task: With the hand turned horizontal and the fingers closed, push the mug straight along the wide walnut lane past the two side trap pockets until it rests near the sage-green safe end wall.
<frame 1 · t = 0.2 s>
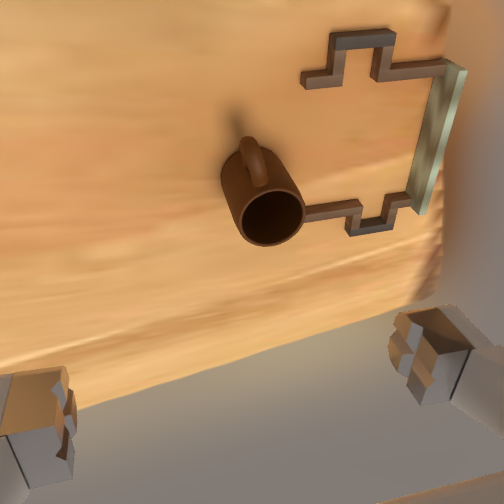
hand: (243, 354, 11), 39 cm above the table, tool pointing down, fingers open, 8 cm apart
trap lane: (359, 144, 54), on the table
mug: (245, 157, 52), on the table
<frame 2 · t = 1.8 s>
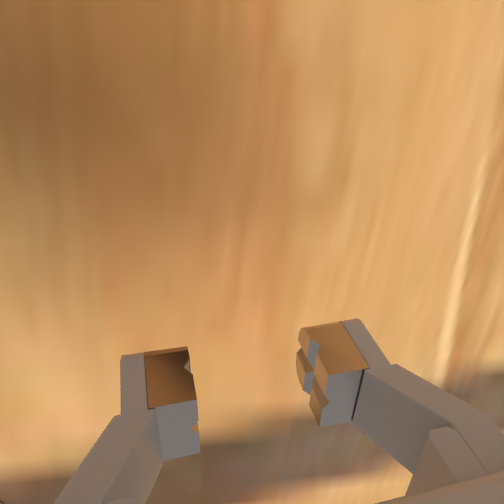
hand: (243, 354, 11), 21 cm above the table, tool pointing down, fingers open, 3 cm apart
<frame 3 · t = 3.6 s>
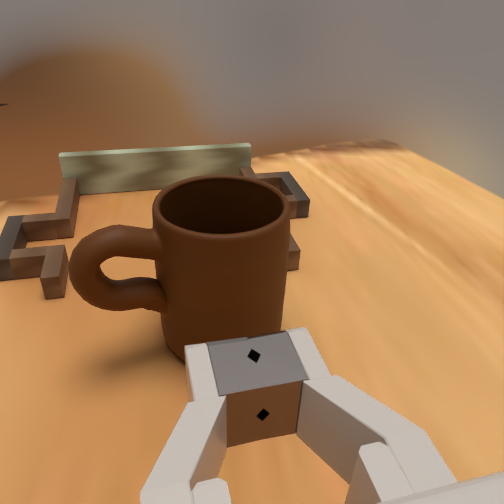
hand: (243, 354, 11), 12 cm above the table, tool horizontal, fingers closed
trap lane: (169, 228, 40), on the table
mug: (190, 343, 28), on the table
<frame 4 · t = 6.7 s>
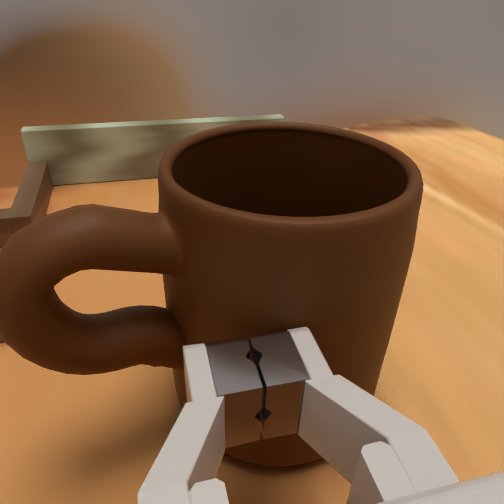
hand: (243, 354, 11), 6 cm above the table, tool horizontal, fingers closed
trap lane: (177, 229, 28), on the table
mug: (222, 410, 17), on the table, touching gripper
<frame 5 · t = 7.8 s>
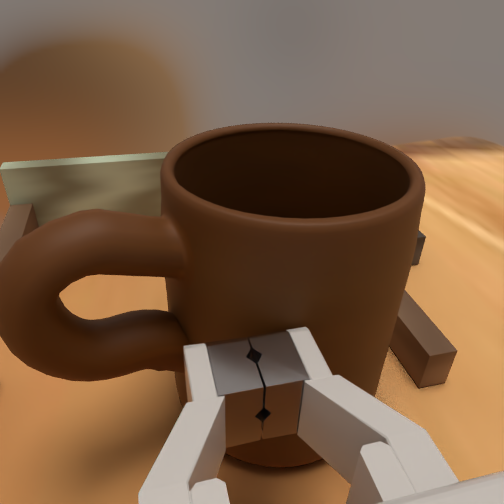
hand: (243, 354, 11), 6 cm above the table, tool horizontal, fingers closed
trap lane: (190, 292, 23), on the table
mug: (224, 412, 17), on the table, touching gripper
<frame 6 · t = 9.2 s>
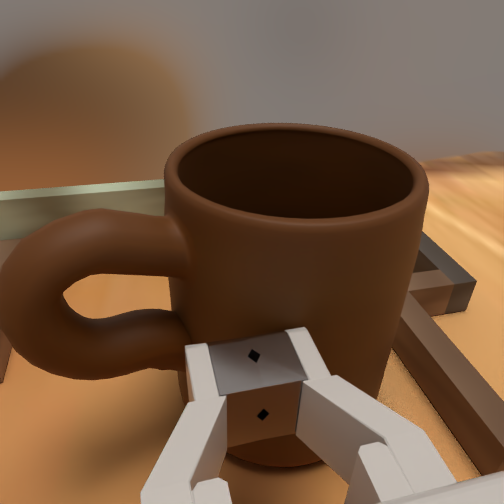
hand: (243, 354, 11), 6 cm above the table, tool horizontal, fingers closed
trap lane: (205, 349, 19), on the table
mug: (227, 411, 17), on the table, touching gripper
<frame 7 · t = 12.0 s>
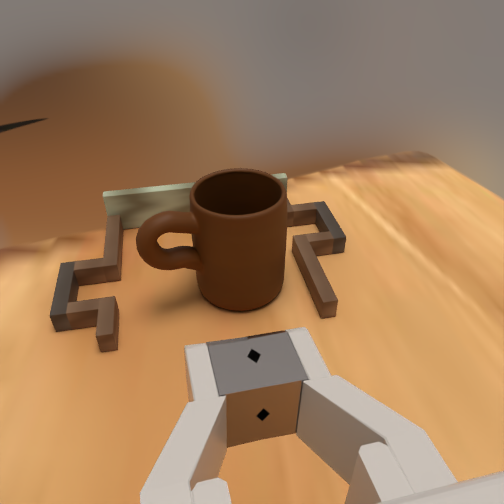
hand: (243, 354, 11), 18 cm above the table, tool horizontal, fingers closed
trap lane: (210, 268, 41), on the table
mug: (218, 293, 39), on the table
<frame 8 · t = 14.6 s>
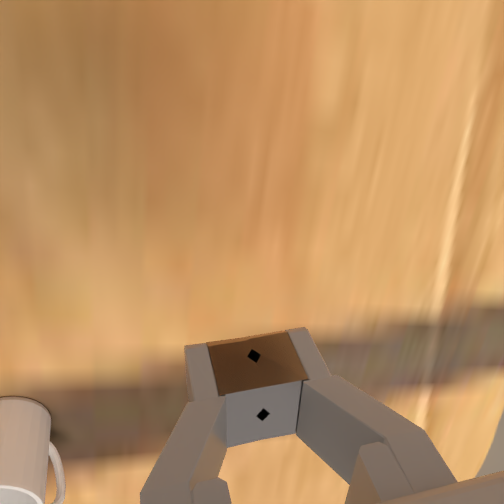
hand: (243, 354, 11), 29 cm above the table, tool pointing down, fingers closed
mug 2: (22, 420, 51), on the table
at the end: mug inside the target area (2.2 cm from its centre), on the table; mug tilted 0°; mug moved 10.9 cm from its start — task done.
